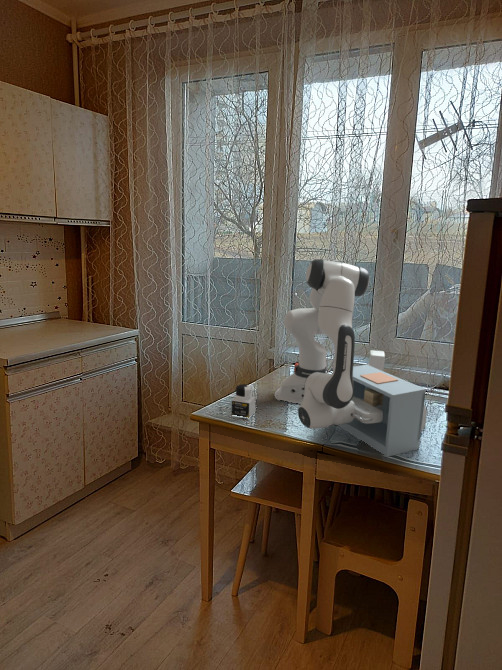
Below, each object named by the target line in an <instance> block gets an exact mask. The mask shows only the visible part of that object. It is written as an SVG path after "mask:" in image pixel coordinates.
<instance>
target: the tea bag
mask: <svg viewBox="0 0 502 670" xmlns="http://www.w3.org/2000/svg"><path fill="white" fill-rule="evenodd" d="M427 414H428V410H427V408H426V405H425V404H424V410H423V419H422V427H421V432H422V431H423V430H424V428H425V427H426V422H427Z"/></svg>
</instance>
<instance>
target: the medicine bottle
mask: <svg viewBox="0 0 502 670" xmlns="http://www.w3.org/2000/svg"><path fill="white" fill-rule="evenodd" d="M252 391H253V386H251V385H249V384H245V383H243V384H239V385H236V387H235V396H234V397H233V398H232V399H231V416H232V415H237V416H243V417H248V418H249V417H250V416H251V415H252V414H253V413H254V412H255V413H256V396H255V395H253V393H252Z"/></svg>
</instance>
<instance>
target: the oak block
mask: <svg viewBox="0 0 502 670" xmlns="http://www.w3.org/2000/svg"><path fill="white" fill-rule="evenodd" d="M364 402H366V403H368V404H370V405H372V406H374V407H375V405H377V404H379V405H381V406H382V404H383V394H382V393H380V392H377V391H375V390H373V389H366V390H365V393H364ZM370 424H373V423H370Z"/></svg>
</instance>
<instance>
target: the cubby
mask: <svg viewBox="0 0 502 670" xmlns="http://www.w3.org/2000/svg"><path fill="white" fill-rule="evenodd" d="M353 384H354V395H353V396H355V397H356V398H361V399H364V393H365V390H366V389H373V390H375V391H377V392H380V393H382V394H383V404H382V411H383V420H382V421H381V422H378V423H373V424H370V423H369V424H366V423H362V422H360V421H359V420H357V419H355V418H354V419H353V421H352V422H349V423H344V424H339V425H337V426H338V427H339V428H341V429H342V428H343V429H342V430H344V431H345V430H346V432H347V431H348V432H347V433H349V434H350V433H351V434H350V435H352V436H353V435H354V436H353V437H354V438H356V437H357V439H358V438H359V439H358V440H360V441H361V440H362V441H361V442H363V441H364V442H365V444H366V443H367V444H368V446H369V445H370V446H369V447H371V446H372V447H373V448H372V447H371V448H372V449H374V450H375V449H376V450H375V451H377V452H378V451H379V452H378V453H380V452H381V453H380V454H382V455H383V454H384V455H383V456H385V457H386V458H389V457H392V456H395V455H400V454H405V453H407V452H412V451H416V450H419V449H420V443H421V436H422V435H421V434H422V431H421V427H422V419H423V410H424V405H425V400H426V399H425V398H426V393H427V392H426V391H427V389H426V388H424V387H422V386H419V385H417V384H414V383H412V382H410V381H407V380H405V379H402V378H400V377H398V376H395V375H392V374H390V373H388V372H386V371H384V370H383V371H381V370H379V369H376V368H374V367H371V366H369V364H362V365H357V366H353ZM364 442H363V443H364ZM367 444H366V445H367ZM388 456H389V457H388Z"/></svg>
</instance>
